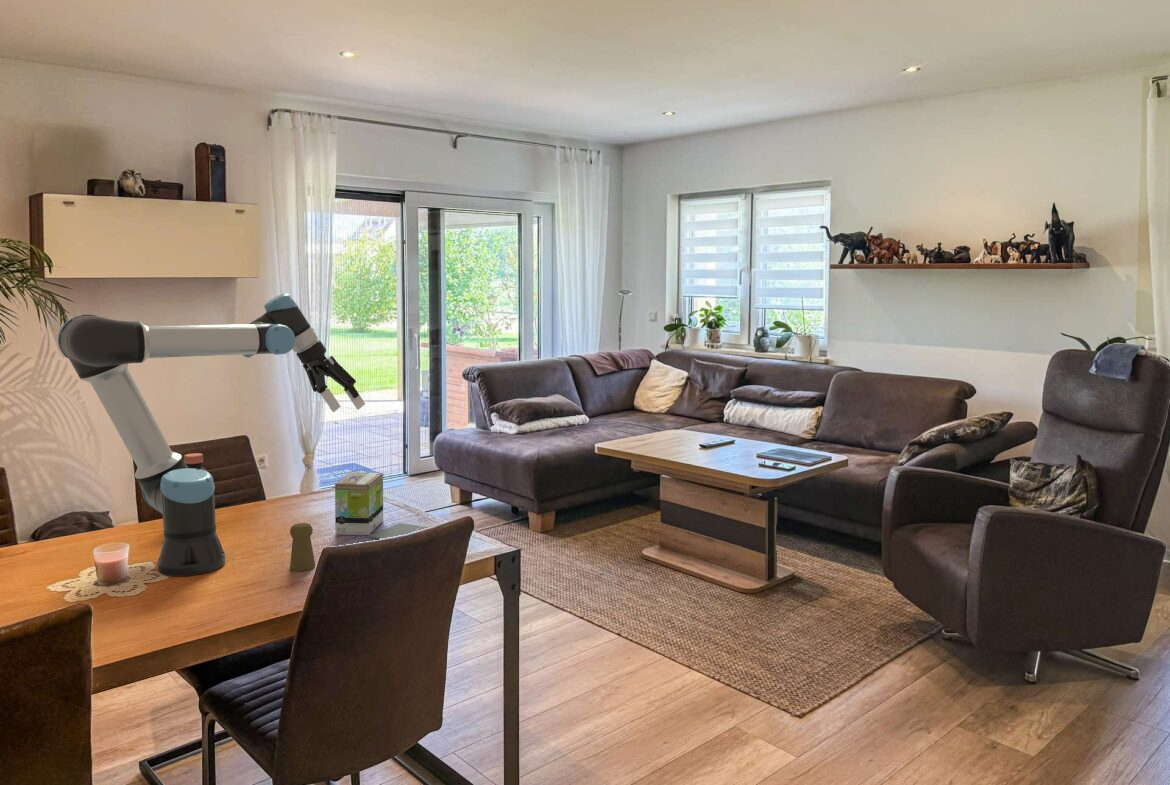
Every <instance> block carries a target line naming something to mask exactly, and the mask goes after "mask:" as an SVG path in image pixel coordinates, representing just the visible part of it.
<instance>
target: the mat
mask: <svg viewBox="0 0 1170 785" xmlns="http://www.w3.org/2000/svg"><path fill="white" fill-rule="evenodd" d="M420 526H421V527H420ZM418 528H419V529H418ZM424 528H428V526H425V525H424V526H423V525H416V524H408V523H403V522H397V523H396V524H394V525H391V526H389V527H387V528H385V529H383V530H382V529H381V530H380V531H378V532H375V533H372V534H369V535H368V539H370V538H372V539H371V540H377V539H380V538H387V537H393V536H398V535H404V534H408V533H411V532H414V531H417V530H421V529H424ZM416 529H417V530H416Z"/></svg>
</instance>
